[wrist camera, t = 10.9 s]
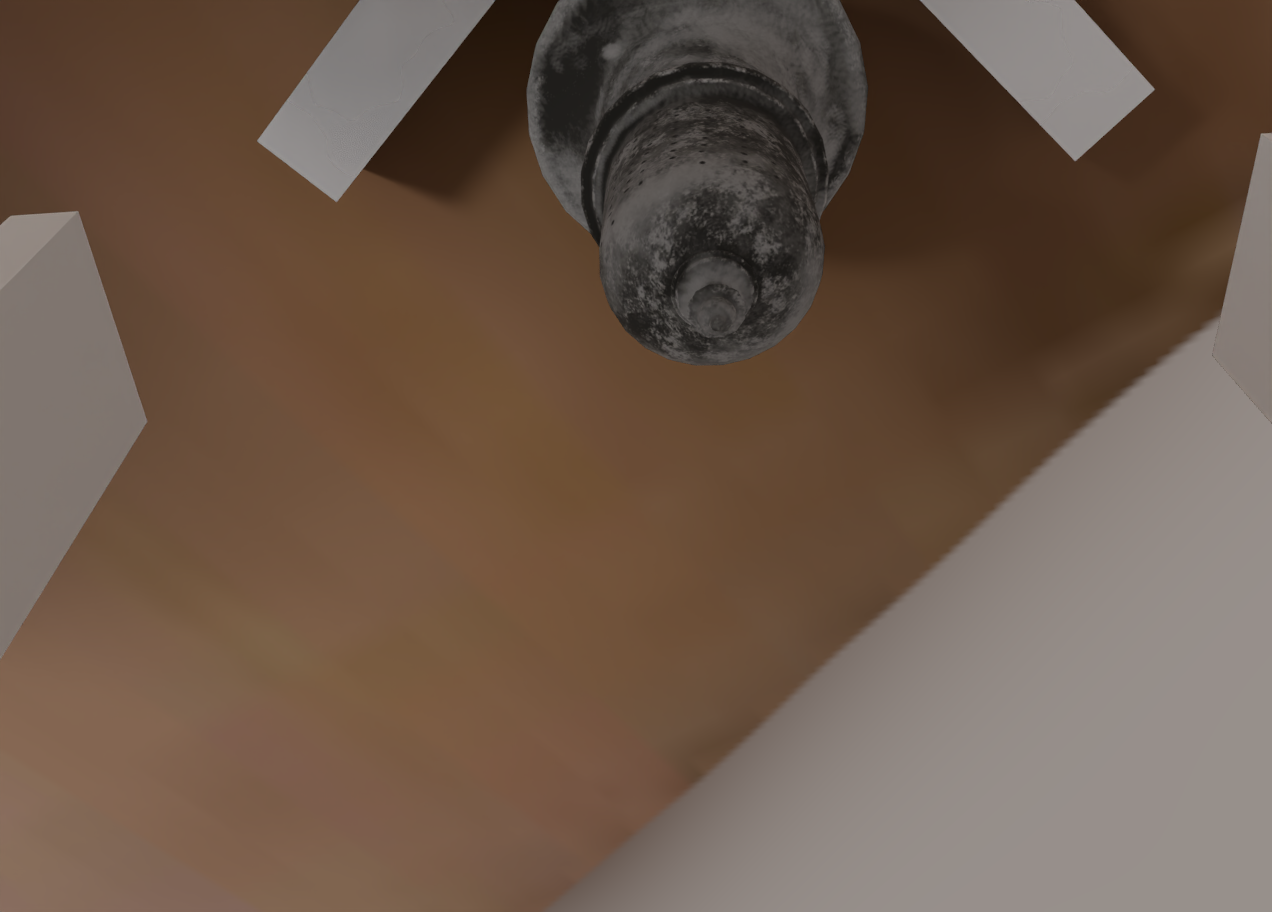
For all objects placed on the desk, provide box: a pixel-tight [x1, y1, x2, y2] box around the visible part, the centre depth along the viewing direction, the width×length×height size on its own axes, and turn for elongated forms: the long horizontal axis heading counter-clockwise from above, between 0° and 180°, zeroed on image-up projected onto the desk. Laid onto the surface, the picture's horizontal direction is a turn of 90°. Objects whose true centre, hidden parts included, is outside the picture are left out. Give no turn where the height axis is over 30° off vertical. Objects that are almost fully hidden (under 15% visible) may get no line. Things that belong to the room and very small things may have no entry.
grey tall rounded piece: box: [527, 0, 868, 365], centre depth 19 cm, size 6×6×12 cm
